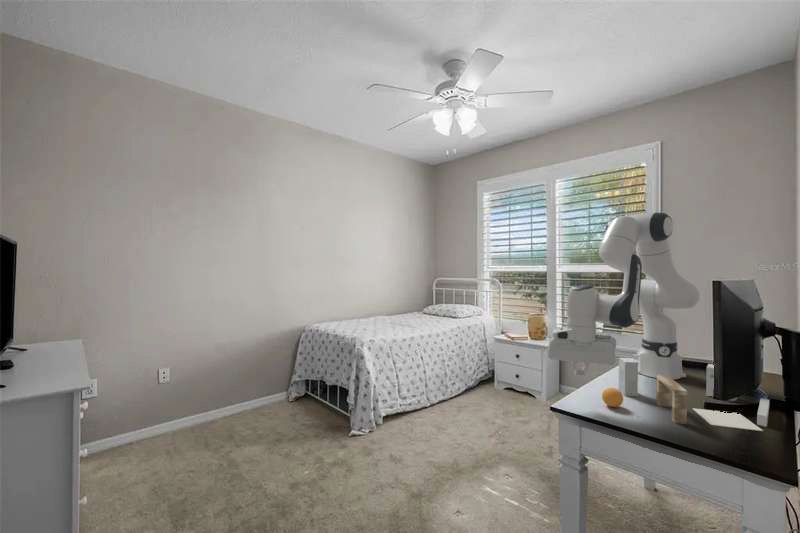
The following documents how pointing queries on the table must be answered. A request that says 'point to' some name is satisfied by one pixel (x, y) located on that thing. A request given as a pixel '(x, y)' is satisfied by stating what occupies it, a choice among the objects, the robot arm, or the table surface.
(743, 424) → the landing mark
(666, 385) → the bridge
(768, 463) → the table surface
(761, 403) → the rail
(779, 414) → the table surface
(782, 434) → the table surface
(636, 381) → the skincare box
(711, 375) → the small box
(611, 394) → the ball
